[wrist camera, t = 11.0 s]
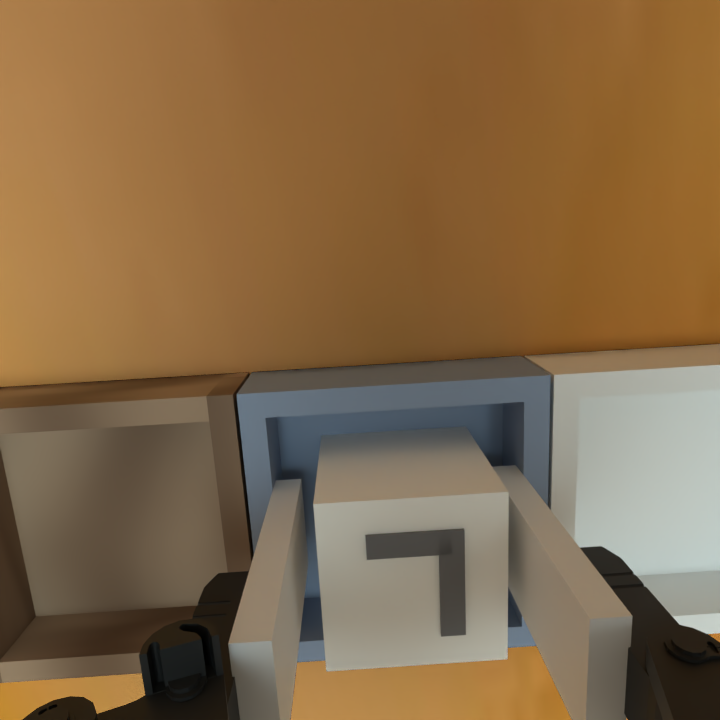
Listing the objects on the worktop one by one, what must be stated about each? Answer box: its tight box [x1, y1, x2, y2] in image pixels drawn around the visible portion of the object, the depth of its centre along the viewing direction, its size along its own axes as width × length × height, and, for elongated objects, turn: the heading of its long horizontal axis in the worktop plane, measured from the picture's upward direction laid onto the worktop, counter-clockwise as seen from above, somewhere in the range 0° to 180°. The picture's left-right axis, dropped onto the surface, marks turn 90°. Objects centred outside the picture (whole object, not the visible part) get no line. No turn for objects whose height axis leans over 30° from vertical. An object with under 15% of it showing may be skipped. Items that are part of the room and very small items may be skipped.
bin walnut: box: [0, 372, 254, 683], centre depth 16 cm, size 8×8×2 cm
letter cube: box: [313, 427, 509, 671], centre depth 15 cm, size 4×5×5 cm
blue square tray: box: [236, 356, 551, 662], centre depth 17 cm, size 8×8×2 cm
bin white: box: [524, 344, 720, 634], centre depth 17 cm, size 8×8×2 cm
